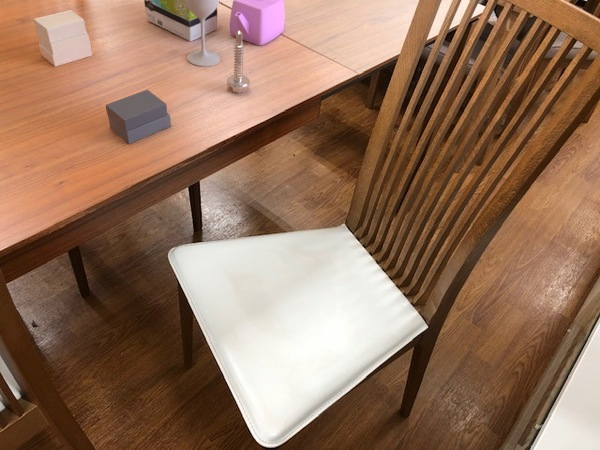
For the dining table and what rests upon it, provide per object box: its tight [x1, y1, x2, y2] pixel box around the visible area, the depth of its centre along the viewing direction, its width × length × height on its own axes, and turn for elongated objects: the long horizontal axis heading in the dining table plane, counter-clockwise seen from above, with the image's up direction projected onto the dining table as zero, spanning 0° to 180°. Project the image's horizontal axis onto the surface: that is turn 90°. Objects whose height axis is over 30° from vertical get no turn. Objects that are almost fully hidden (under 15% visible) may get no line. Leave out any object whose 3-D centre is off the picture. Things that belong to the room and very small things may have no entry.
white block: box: [33, 9, 88, 43], centre depth 105 cm, size 8×6×3 cm
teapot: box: [229, 0, 286, 46], centre depth 122 cm, size 18×10×10 cm, turn 150°
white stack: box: [36, 32, 93, 67], centre depth 108 cm, size 8×6×5 cm
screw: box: [226, 30, 251, 94], centre depth 102 cm, size 13×5×5 cm
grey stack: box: [105, 89, 172, 145], centre depth 93 cm, size 9×6×5 cm
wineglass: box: [184, 0, 221, 68], centre depth 107 cm, size 8×8×21 cm
